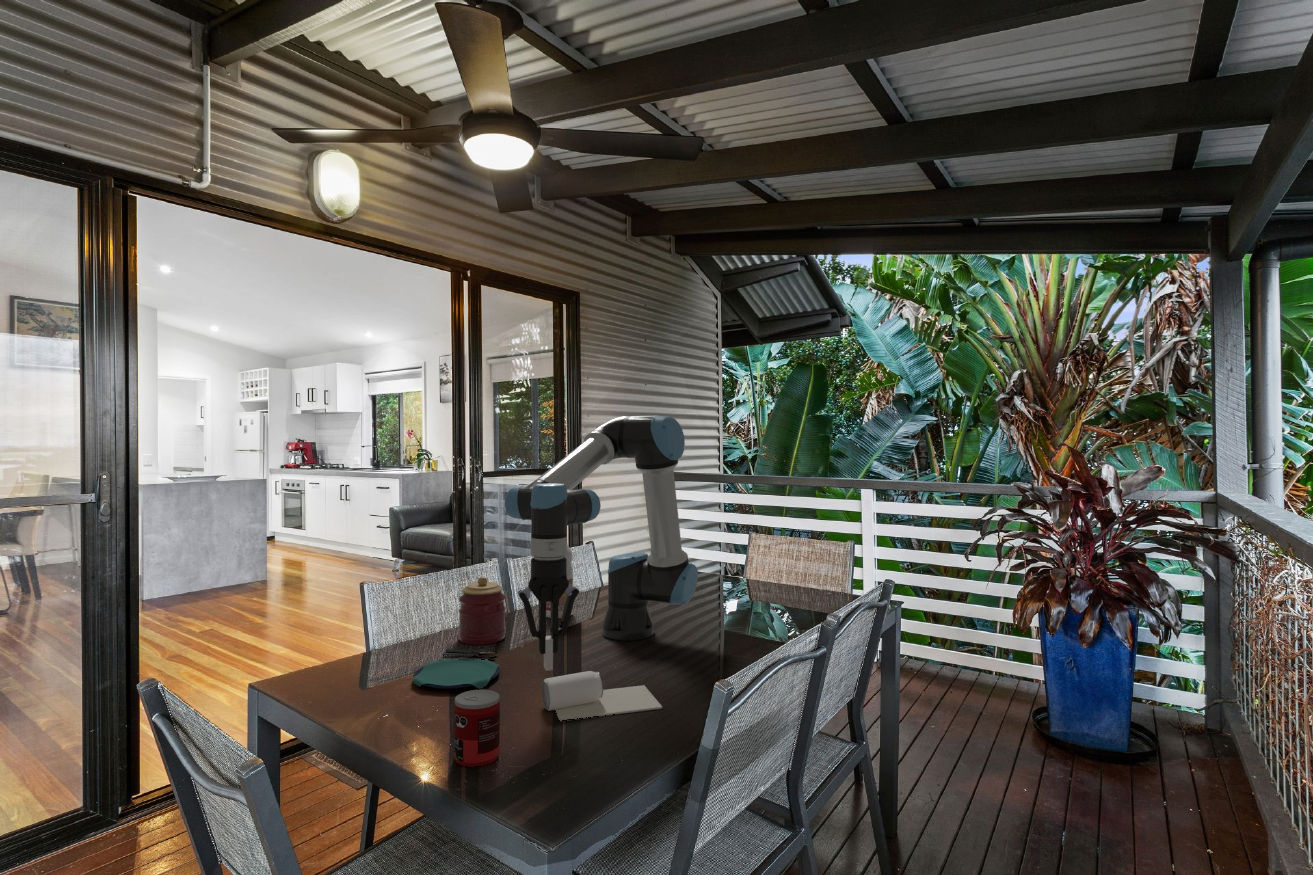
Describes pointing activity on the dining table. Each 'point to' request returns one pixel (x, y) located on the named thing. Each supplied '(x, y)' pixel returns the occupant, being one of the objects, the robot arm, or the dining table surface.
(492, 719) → the canned food
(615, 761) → the dining table surface
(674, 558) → the robot arm
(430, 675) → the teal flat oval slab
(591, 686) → the can
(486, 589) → the canister
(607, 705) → the mat
